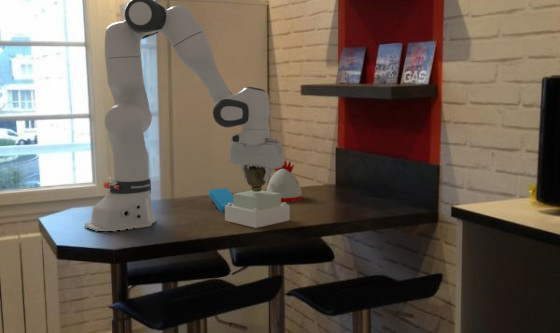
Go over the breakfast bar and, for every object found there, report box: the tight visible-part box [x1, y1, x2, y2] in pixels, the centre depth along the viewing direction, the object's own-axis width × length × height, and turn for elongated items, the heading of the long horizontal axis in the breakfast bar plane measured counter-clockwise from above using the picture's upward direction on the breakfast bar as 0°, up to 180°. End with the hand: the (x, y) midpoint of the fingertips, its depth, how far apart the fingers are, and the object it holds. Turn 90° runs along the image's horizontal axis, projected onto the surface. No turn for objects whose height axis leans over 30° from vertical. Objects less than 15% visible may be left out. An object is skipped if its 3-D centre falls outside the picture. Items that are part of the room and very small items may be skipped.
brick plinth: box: [224, 189, 291, 229], centre depth 209 cm, size 15×15×9 cm
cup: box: [245, 166, 267, 192], centre depth 208 cm, size 8×7×8 cm
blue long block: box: [208, 187, 233, 213], centre depth 233 cm, size 7×7×18 cm
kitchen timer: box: [266, 160, 303, 203], centre depth 247 cm, size 14×14×15 cm
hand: (256, 179), depth 208 cm, fingers closed on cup, 7 cm apart
